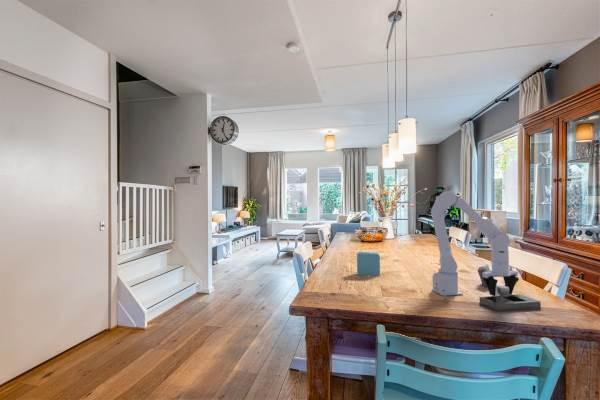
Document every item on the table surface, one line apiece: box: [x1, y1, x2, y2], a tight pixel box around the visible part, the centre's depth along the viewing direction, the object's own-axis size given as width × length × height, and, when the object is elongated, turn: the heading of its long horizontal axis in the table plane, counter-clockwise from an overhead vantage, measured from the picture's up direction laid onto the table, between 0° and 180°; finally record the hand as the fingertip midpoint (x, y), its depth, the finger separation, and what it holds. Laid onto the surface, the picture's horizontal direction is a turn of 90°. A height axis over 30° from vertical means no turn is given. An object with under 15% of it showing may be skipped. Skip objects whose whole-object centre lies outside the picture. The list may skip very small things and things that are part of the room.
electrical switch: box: [477, 263, 491, 287], centre depth 131 cm, size 9×5×9 cm, turn 141°
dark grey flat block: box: [479, 294, 542, 312], centre depth 105 cm, size 18×8×3 cm, turn 98°
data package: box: [356, 251, 381, 277], centre depth 152 cm, size 12×4×12 cm, turn 77°
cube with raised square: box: [491, 283, 510, 296], centre depth 113 cm, size 4×4×5 cm
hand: (500, 294), depth 113 cm, fingers open, 7 cm apart
